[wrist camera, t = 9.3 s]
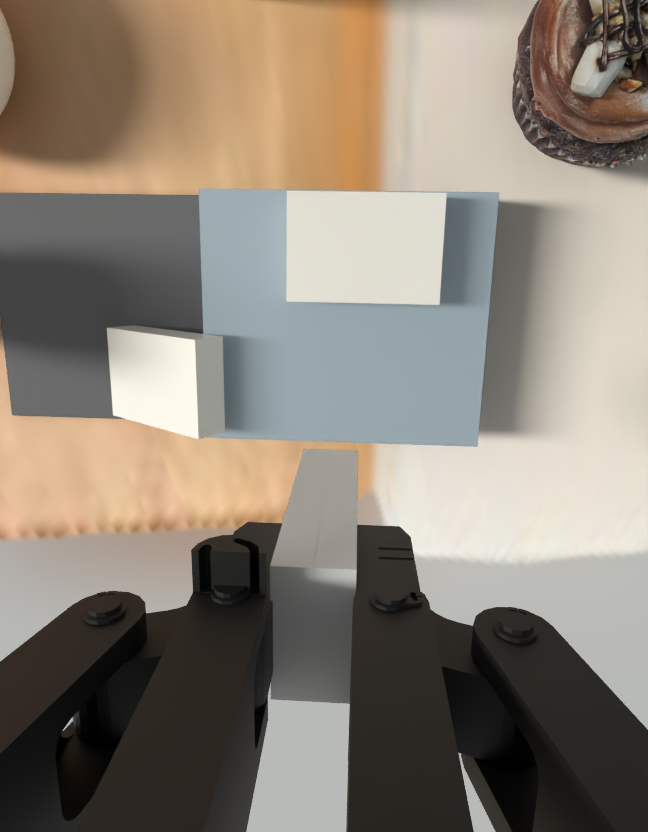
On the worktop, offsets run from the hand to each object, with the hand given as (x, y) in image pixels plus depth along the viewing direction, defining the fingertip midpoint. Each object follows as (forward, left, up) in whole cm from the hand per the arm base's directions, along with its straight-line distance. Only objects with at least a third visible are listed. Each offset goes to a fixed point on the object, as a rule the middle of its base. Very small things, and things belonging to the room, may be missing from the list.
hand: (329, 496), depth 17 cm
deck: (-3, 0, -22) cm, 23 cm away
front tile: (-7, +1, -18) cm, 20 cm away
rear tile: (+1, -10, -20) cm, 22 cm away
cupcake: (-16, +13, -23) cm, 30 cm away
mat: (-3, -15, -22) cm, 27 cm away
